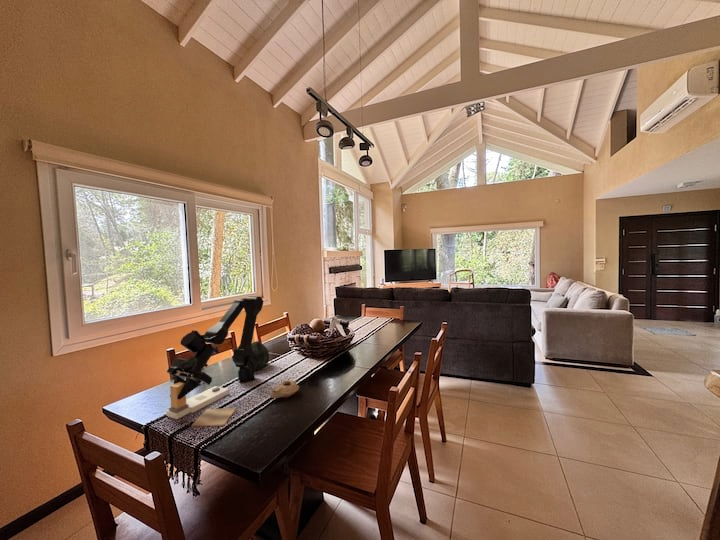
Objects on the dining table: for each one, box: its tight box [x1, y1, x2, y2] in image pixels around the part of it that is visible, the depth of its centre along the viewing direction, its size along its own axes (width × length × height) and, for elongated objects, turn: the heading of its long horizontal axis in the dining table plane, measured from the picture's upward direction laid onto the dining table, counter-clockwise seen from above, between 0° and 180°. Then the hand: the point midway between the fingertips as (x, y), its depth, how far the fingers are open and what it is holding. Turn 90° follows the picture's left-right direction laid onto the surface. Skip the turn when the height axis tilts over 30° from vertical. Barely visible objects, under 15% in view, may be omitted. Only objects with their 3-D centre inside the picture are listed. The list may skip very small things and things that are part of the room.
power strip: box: [165, 385, 230, 420], centre depth 116 cm, size 22×8×3 cm, turn 156°
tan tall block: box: [168, 382, 189, 413], centre depth 108 cm, size 4×4×11 cm
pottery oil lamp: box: [269, 380, 300, 399], centre depth 121 cm, size 9×12×7 cm
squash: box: [251, 340, 270, 370], centre depth 153 cm, size 14×15×15 cm
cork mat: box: [190, 407, 237, 428], centre depth 106 cm, size 11×11×1 cm
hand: (174, 398), depth 107 cm, fingers open, 4 cm apart
